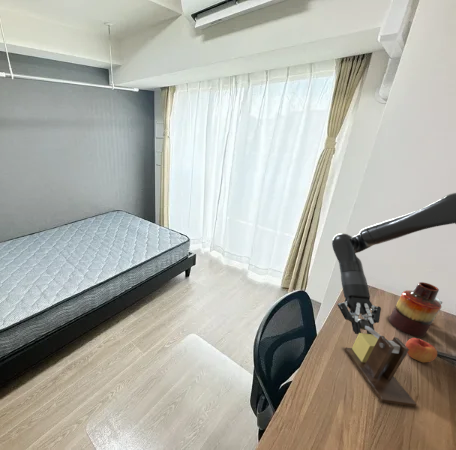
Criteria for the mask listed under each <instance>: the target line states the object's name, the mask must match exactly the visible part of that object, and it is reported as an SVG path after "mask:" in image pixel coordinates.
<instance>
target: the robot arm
mask: <svg viewBox="0 0 456 450" xmlns="http://www.w3.org/2000/svg"><path fill="white" fill-rule="evenodd" d="M447 225H456V192H452V193H449V194H447V195H444V196H443V197H441V198H440V199H438V200H436V201H434V202H432V203H429V205H426V206H424V207H422V208H420V209H419V208H418V209H417V210H415V211H412V212H409V213H406V214H404V215H400V216H396V217H393V218H390V219H387V220H384V221H380V222H377V223H375V224H372V225H371V224H370V225H369V226H366V227H363V228H361V229H360V231H359V233H358V234H356V235H353V236H352V235H349V234H348V233H342V232H341V233H337V234H335V235H334V236H333V238H332V240H331V246H332V250H333V252H334V256H335V257H336V259H337V261H338V267H339V272H340V283H341V286H342V293H343V297H344V298H345V299H344V302H339V303H337V304H336V305H337V307H338V309H339V310H340V313H341V314H342V316H343V318H344V320H345V321H349V322H350V323H351V328H352V332H353V333H354V334H355V335H358V334H359V333H362V329H360V325H359V323H358V320H359V319H360V318H359V317H360V315H361V318H362V319H364V320H366V321H368V322H369V324H370V328H372V329H373V330H374V331H375V326H374V324H378V323H380V320H381V319H380V318H381V313H382V312H381V311H382V308H381V306H377V305H374V304H373V303H372V302H371V299H370V298H371V294H370V290H369V285H368V282H367V277H366V274H365V272H364V268H363V263H362V260H361V259H360V258H359V257H358V256H357V254H358V253H361V252H363V251H365V250H367V249H369V248H371V247H372V246H376V245H379V244H383V243H387V242H389V241H393V240H396V239H399V238H402V237H405V236H407V235H411V234H413V233H417V232H421V231H423V230H427V229H431V228H436V227H441V226H447ZM365 331H366V334H371V333H370V332H369V331H368V330H365Z"/></svg>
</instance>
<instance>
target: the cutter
mask: <svg viewBox="0 0 456 450" xmlns="http://www.w3.org/2000/svg"><path fill="white" fill-rule="evenodd" d="M388 340H389V339H387V338H386V337H385V336H384V335H381V336H380V337H379V339H378V340H377V342H376V344H375V346H374V348H373V350H372V352H371V354H370V356H369V358H368V360H367V361H366V363H365V362H361V360H360V359H359V358H358V356H357V355H356V354H355V352H354V351H353V350H352V348H351V347H345V348H344V351H345V352H346V354H347V355H348V356H349V358H350V359H351V361H352V363H353V364H354V365H355V367H356V368H357V369H358V371H359V373H361V375H362V376H363V378H364V379H365V381H366V382H367V384H368V386H370V388H371V389H372V391H373V393H374V394H375V395H376V396H377V398H378V400H379V401H380V402H381V403H388V404H393V405H394V404H395V405H401V406H408V407H416V405H417V403H416V402H415V400H414V399H413V398H412V397H411V396H410V394H409V393H408V392H407V391H406V390H405V388H404V387H403V386H402V385H401V384H400V382H399V381H398V380H397V379H396V378H395V374H396V373H397V371H398V369H399V367H400V366H401V364H402V362H403V361H404V359H405V358H406V356H407V355H408V353H407V352H408V351H409V349H408V348H407V347H406V344H405V343H403V341H402V340H401V339H399V338H398V337H395V336H394V337H393V338H392V340H391V341H394V342H395V343H396V344H398V345H399V346H400V350H399V354H398V353H392V351H393V349H394V347H393V346H392V345H391V343H390V342H389V341H388Z"/></svg>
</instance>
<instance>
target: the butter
mask: <svg viewBox="0 0 456 450" xmlns="http://www.w3.org/2000/svg"><path fill="white" fill-rule="evenodd" d="M377 340H378V338H376V337H375V336H374V335H373V334H367V333H364V332H361V333H359V334H357V337H356V339H355V341H354V343H353V345H352V350H353V351H354V352H355V354H356V355H357V356H358V358H359V359H360V360H361V362H365V363H366V361H367V360H368V358H369V356H370V354H371V352H372V350H373V348H374V346H375V344H376V342H377Z"/></svg>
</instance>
